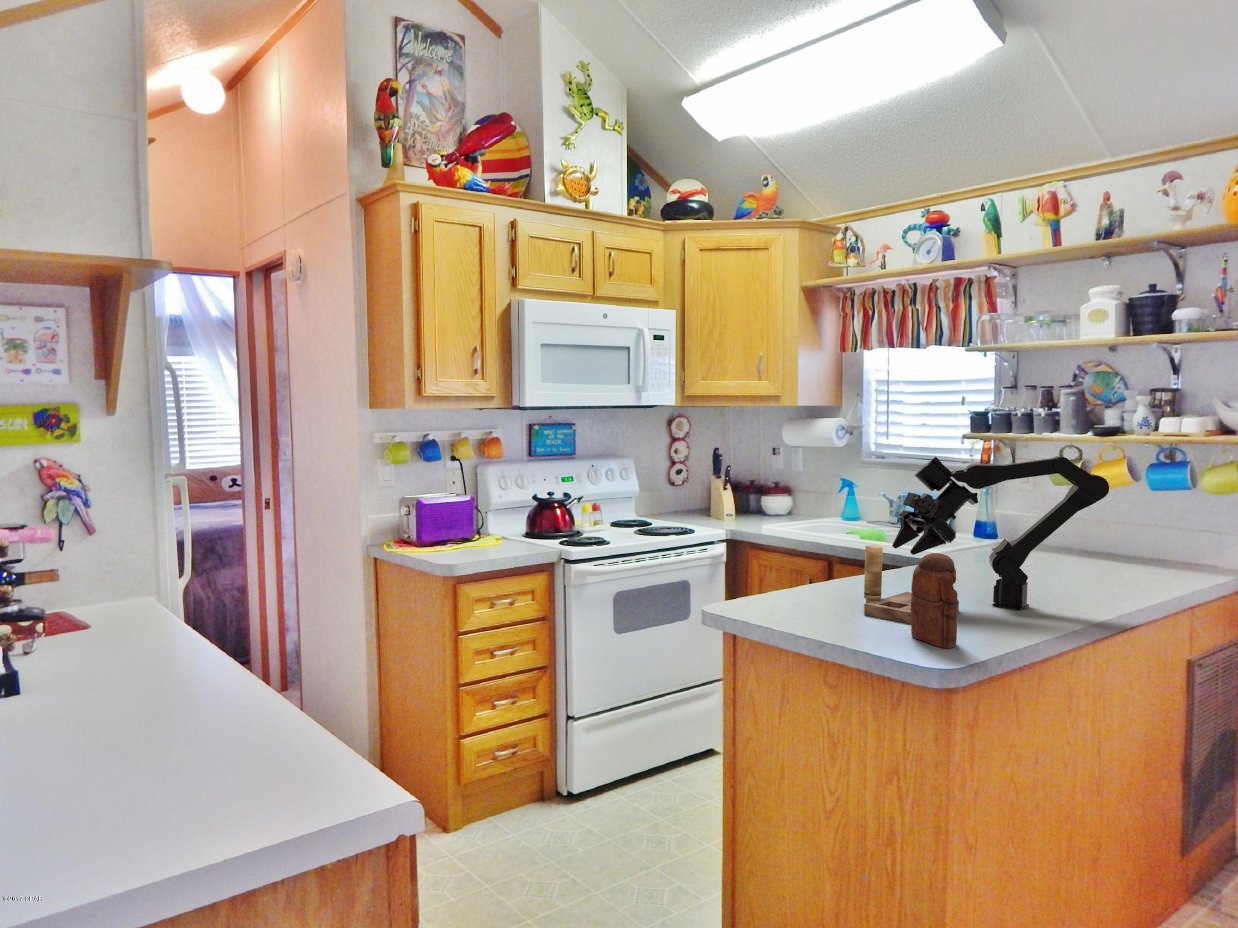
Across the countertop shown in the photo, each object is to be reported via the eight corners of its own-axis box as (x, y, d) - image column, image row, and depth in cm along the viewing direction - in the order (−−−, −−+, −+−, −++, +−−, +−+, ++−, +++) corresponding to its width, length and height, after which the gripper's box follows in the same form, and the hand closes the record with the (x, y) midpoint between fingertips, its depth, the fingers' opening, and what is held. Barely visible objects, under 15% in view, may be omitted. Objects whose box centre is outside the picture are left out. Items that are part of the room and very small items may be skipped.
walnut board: (958, 610, 202) (958, 600, 202) (918, 625, 188) (918, 613, 188) (906, 601, 211) (906, 591, 211) (864, 614, 197) (864, 603, 197)
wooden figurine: (968, 647, 171) (971, 557, 170) (942, 650, 168) (945, 559, 167) (926, 632, 182) (929, 548, 181) (902, 635, 179) (905, 549, 178)
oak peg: (884, 604, 208) (885, 546, 207) (875, 607, 205) (877, 548, 204) (869, 601, 211) (870, 544, 210) (860, 604, 208) (862, 546, 207)
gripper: (907, 478, 217) (864, 522, 216) (945, 484, 199) (898, 532, 198) (935, 509, 219) (892, 552, 218) (976, 518, 201) (929, 566, 200)
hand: (902, 550), depth 208 cm, fingers open, 9 cm apart
